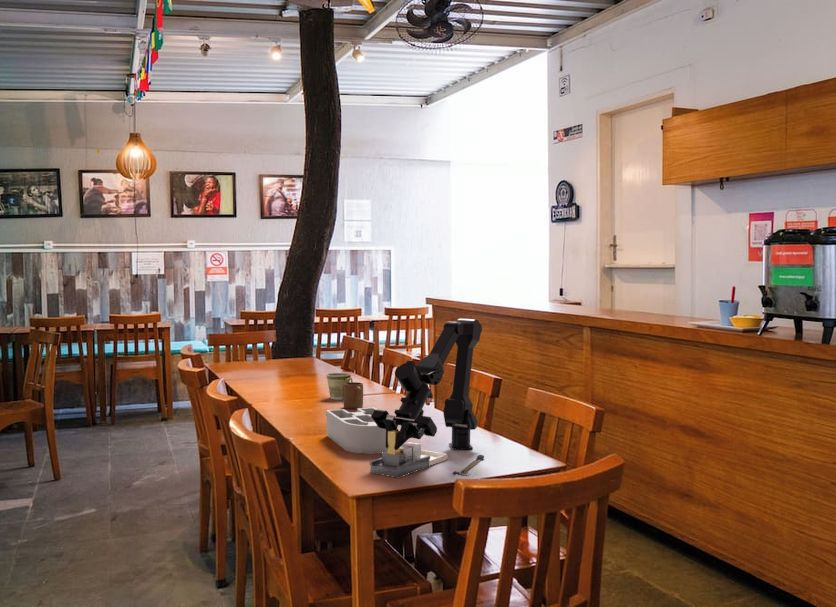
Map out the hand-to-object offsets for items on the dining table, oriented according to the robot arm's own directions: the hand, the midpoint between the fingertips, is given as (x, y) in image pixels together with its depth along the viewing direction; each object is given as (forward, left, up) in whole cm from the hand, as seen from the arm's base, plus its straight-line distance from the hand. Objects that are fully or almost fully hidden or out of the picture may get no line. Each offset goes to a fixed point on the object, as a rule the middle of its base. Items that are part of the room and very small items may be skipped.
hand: (390, 448), depth 210 cm
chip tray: (-13, +11, -7) cm, 19 cm away
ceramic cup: (-117, -11, -7) cm, 117 cm away
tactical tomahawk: (-6, +24, -7) cm, 26 cm away
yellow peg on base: (-1, +1, -5) cm, 5 cm away
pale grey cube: (-4, +3, -5) cm, 7 cm away
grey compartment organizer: (-35, -6, -7) cm, 36 cm away
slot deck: (-4, +3, -7) cm, 8 cm away
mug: (-95, -6, -7) cm, 95 cm away
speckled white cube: (-7, +6, -5) cm, 11 cm away
